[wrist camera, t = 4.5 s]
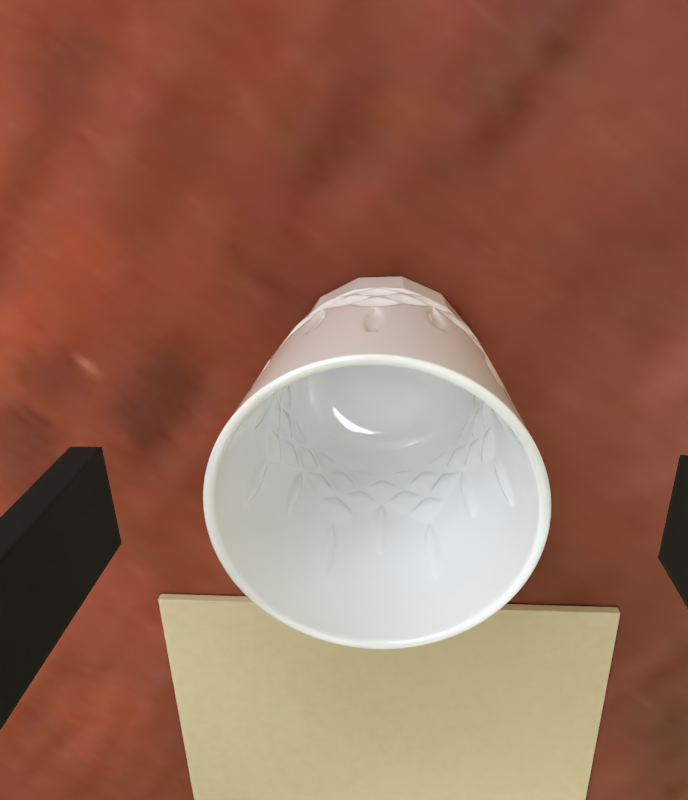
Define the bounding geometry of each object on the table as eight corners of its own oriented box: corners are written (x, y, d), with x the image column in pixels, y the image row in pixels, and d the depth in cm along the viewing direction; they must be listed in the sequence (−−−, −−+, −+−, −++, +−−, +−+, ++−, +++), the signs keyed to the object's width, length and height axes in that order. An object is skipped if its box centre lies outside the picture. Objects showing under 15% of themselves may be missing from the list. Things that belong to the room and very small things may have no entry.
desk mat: (209, 869, 37) (207, 877, 36) (160, 593, 29) (157, 599, 28) (565, 892, 35) (567, 900, 35) (617, 606, 27) (620, 613, 27)
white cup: (534, 378, 23) (622, 544, 14) (369, 493, 26) (355, 696, 17) (397, 208, 21) (398, 276, 12) (233, 351, 24) (132, 495, 15)
